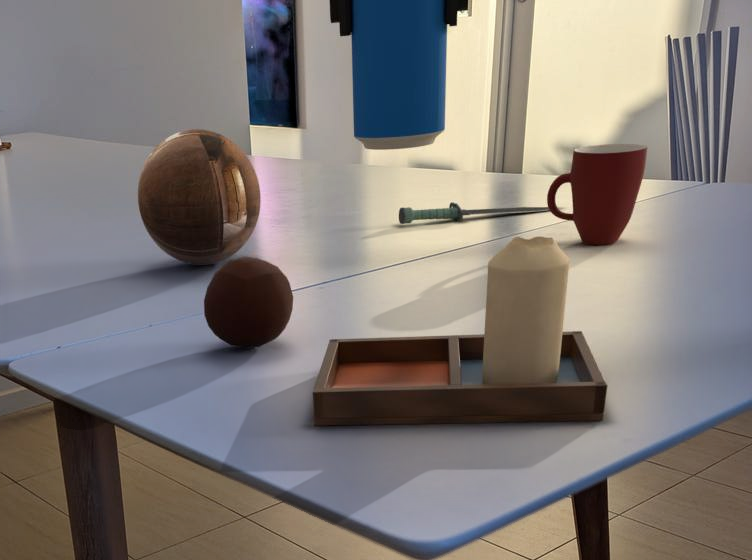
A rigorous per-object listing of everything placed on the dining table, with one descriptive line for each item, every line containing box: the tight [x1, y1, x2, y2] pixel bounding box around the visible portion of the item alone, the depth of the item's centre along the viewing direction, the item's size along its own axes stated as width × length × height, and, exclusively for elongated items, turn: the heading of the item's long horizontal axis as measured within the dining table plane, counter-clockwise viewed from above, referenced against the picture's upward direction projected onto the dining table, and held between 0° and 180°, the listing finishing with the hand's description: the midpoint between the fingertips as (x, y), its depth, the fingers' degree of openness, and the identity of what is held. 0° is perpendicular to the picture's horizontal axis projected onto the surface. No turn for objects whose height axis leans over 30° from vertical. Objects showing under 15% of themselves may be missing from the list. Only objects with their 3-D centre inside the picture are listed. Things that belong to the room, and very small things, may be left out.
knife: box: [398, 201, 550, 225], centre depth 129 cm, size 23×2×5 cm
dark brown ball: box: [203, 256, 294, 349], centre depth 82 cm, size 8×9×8 cm
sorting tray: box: [312, 330, 608, 426], centre depth 69 cm, size 20×13×2 cm, turn 82°
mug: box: [546, 143, 648, 246], centre depth 108 cm, size 11×8×10 cm
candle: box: [482, 236, 571, 384], centre depth 66 cm, size 6×6×10 cm
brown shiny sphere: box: [137, 128, 262, 266], centre depth 112 cm, size 15×15×15 cm
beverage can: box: [350, 0, 448, 151], centre depth 63 cm, size 6×6×12 cm
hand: (398, 28), depth 62 cm, fingers closed on beverage can, 6 cm apart
